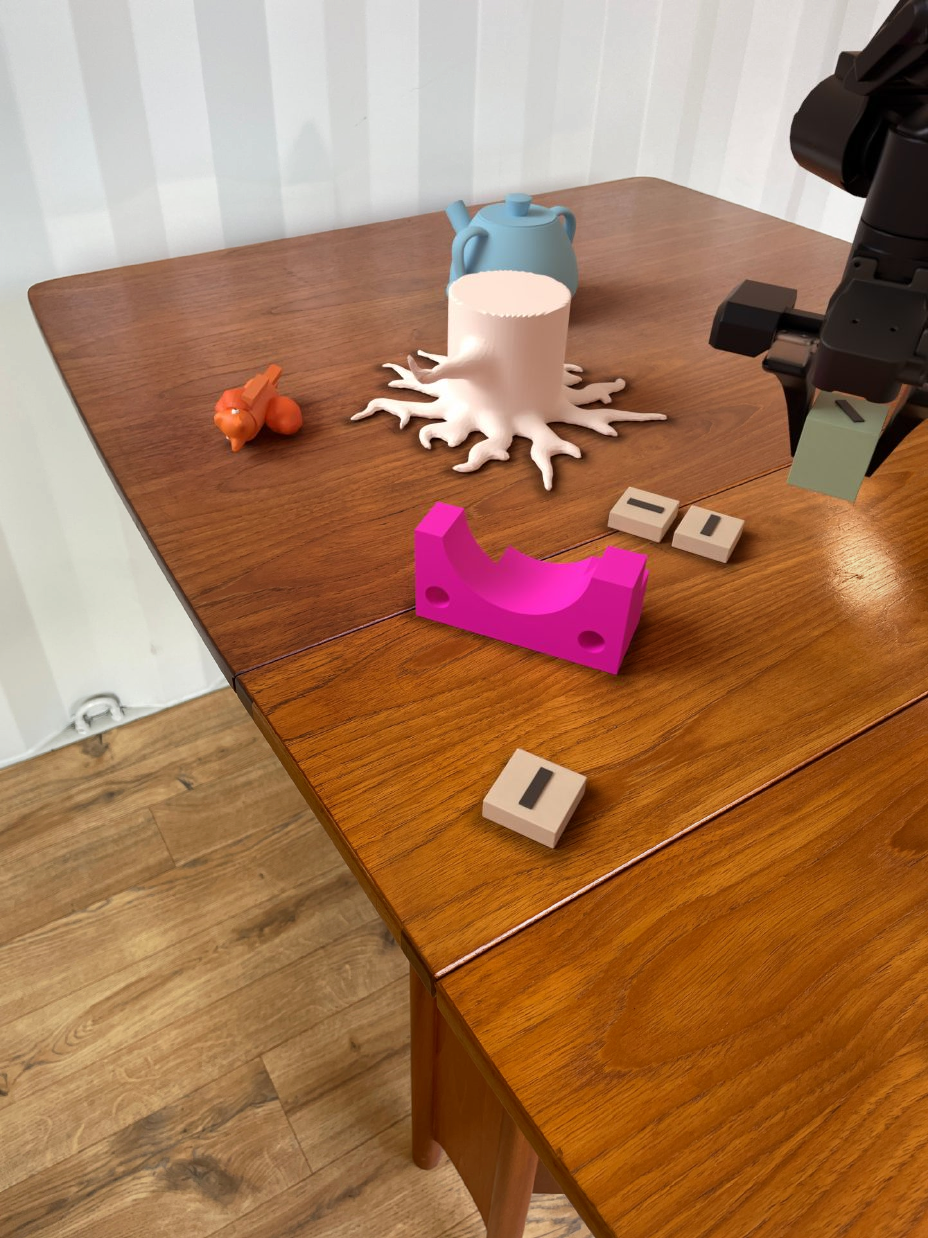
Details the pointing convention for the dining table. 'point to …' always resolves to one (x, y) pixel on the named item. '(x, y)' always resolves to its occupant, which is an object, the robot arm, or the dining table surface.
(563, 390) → the tree stump
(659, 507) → the beige letter tiles
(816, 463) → the green letter i block
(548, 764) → the beige minus sign block
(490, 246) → the teapot
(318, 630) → the dining table surface
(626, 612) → the magenta cradle bracket
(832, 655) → the dining table surface
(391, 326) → the dining table surface
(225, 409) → the orange toy bird
